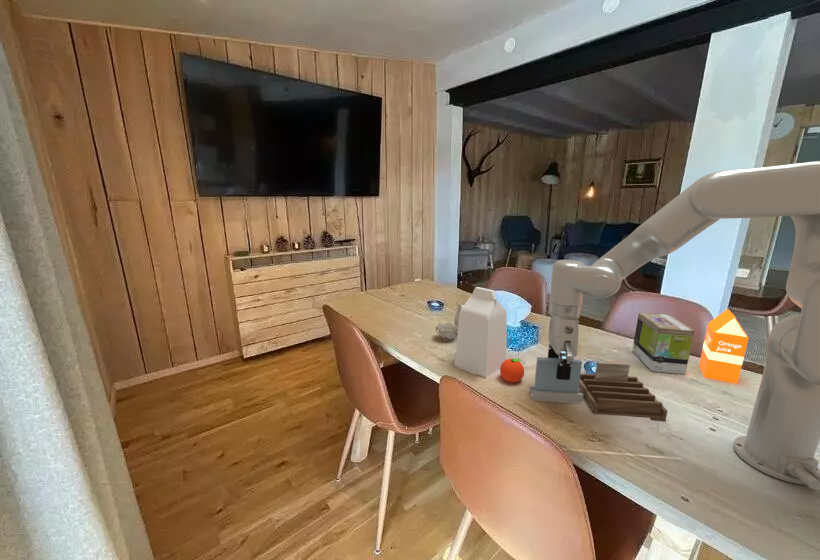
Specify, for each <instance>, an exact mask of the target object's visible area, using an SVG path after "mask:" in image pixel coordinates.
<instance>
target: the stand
mask: <svg viewBox="0 0 820 560" xmlns="http://www.w3.org/2000/svg"><path fill="white" fill-rule="evenodd" d="M534 385H535V384H530V385H529V389H528V392H529V394H530V397H531V400H532V401H539V402H552V403H553V402H555V403H568V404H581V405H584V402H583V400H584V396H583V394H582V393H581V391H580V389H578V393H569V392H554V391H539V390H534Z"/></svg>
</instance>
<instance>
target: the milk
mask: <svg viewBox="0 0 820 560" xmlns="http://www.w3.org/2000/svg"><path fill="white" fill-rule="evenodd" d="M507 316H508V315H507V310H506V309H505V308H504V306H503V305H502V304H501V303H500V302H499V301H498V300H497V297H496V293H495V291H494V289H493V290H492V289H489V288H485V287H481V286H480V287H479V286H476V287H474V289H473V292H472V294H471V295H470V297H469V298H468V300H466V302H465V303H464V305H463V306H462V309H461V311H460V314H459V324H458V331H457V338H456V346H455V347H456V349H455V350H456V351H455V360H454V367H456V368H458V369H461V370H463V369H464V371H465V370H466V371H465V372H468V373H471V374H472V375H475V376H478V375H479V376H481V377H484V378H488V377H489V376H491V375H494V374H495V373H496V372H497V371H500V367H501V364H502V363H503V362H504V361H505V360H507V343H506V342H507V338H508V336H507V335H508V332H507V331H508V330H507V329H508V328H507V324H508V322H507V321H508V320H507V319H508V317H507Z"/></svg>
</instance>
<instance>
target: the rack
mask: <svg viewBox="0 0 820 560" xmlns="http://www.w3.org/2000/svg"><path fill="white" fill-rule="evenodd" d="M630 366H631V365H630V363H629V362H623V361H622V362H621V361H617V362H616V361H605V360H604V361H603V360H602V361H601V360H600V361H599V360H596V366H595V373H581V374H580V382H579V389H580V393H582V394H583V399H584V400H585V401H586V403H587V405H588V406H589V408H590V409H591V411H592V412H593V414H594V415H595V414H596V415H609V416H622V417H634V418H636V417H637V418H649V419H650V420H651V421H662V422H663V421H664V422H665V421H666V420H667V416H668V410H667V409H666V407H664V406H663V403H662V402H661V401H660V400H658V399H657V398H656V395H655V394H652V393H651V391H650V389H649V388H648V387H647V388H646V387H645V386H644V383H643V382H640V381H639V380H638V377H637V376H629V371H630Z"/></svg>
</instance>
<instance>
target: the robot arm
mask: <svg viewBox="0 0 820 560" xmlns="http://www.w3.org/2000/svg"><path fill="white" fill-rule="evenodd" d="M776 217H790V219H791V220H792V222H793V224H794V230H795V236H794V237H795V238H794V247H793V251H792V257H791V262H790V266H789V271H788V276H787V279H786V284H785V291H786V295H787V297H788V298H789V299H790V301H792V303H794V304H795V305H796V306H798V307H799V308H801V311H800V314H794V315H790V316H786V317H784V318H782V319H780V320H779V321H777V323H775V324H774V326H773V327H772V329H771V330H770V333H769V334H768V339H767V345H766V346H767V347H766V356H765V357H766V358H765V364H764V367H763V373H762V377H761V381H760V384H759V388H758V391H757V395H756V399H755V402H754V405H753V406H754V407H753V409H752V410H753V411H752V413H751V416H750V421H749V424H748V427H747V433H746V435H745V436H742V435H741V436H739V437H736V438H735V439H734V441H733V449H734V451H735V452H736V454H737V455H738V457H740V459H742V460H743V461H744V462H745V463H746V464H748V465H750V466H751V467H753V468H754V469H756V470H758V471H760V472H762V473H763V474H766V475H768V476H771V477H773V478H776V479H778V480H781V481H784V482H788V483H791V484H797V485H806V486H807V487H808V488H809V489H810V490H818V489H819V488H820V468H819V467H818V465H819V464H820V463H819V460H817V459H816V458H815V454H816V452H817V448H818V445H819V442H820V160H817V161H816V160H815V161H807V162H806V161H805V162H800V163H799V162H797V163H790V164H781V165H772V166H771V165H770V166H764V167H754V168H741V169H740V168H739V169H727V170H720V171H714V172H712V173H707V174H706V175H704V176H702V177H700V178H698V179H697V180H696V181H694V182H693V183H691V184H690V185H689V186H688V187H687V188H685V189H684V190H683V191H681V192H680V193H679V194H678V195H677V196H675V197H674V198H673V199H671V201H669V202H668V203H666V205H664V206H663V207H662V208H660V209H659V210H658V211H657V212H656V213H654V214H653V215H651V216H650V217H648V218H647V220H645V221H644V222H642V223H641V224H640V225H639V226H638V227H637V228H635V229H634V230H633V231H632V232H631V233H630V234H628V236H626V237H625V238H624V239H622V240H621V241H620V242H618V244H616V245H615V246H614V247H612V248H611V249H610V250H609V251H607V252H606V253H605V254H603V255H602V256H601V257H599V258H598V259H597V260H596V261H595V262H593V264H591V265H586V264H585V263H584V262H583V261H580V260H577V259H576V260H575V259H559V260H556V261H555V262H554V263H553V267H552V275H551V284H550V285H551V286H550V294H549V303H548V304H549V305H548V314H549V315H550V318H549V326H548V336H547V337H548V342H549V343H548V352H547V358H559V364H557V373H556V378H557V379H559V380H569V379H570V373H571V367H572V363H573V362H572V361H573V359H575V358H574V357H576V356H577V355H578V348H579V331H580V329H579V327H580V323H579V322H580V321H579V318H581V316H582V315H581V313H582V304H583V298H584V294H585V295H589V296H592V297H595V298H610V297H612V296H614V295H615V294H617V293H618V292H619V290H620V288H621V287H622V286H621V285H622V281H623V280H625V279H626V278H627V277H629V276H630V275H631V274H632V273H634V272H635V271H637V270H638V269H639V268H641V267H643V266H644V265H646V264H647V263H649V262H651V261H653V260H655V259H658V258H661V257H665V256H667V255H670V254H672V253H674V252H676V251H677V250H679V249H680V248H682V247H683V246H684V245H685V244H687V243H689V242H690V241H691V240H692V239H694V238H695V237H696V236H697V235H699V234H701V233H702V232H703V231H705V230H706V229H707V228H709V227H711V226H712V225H714V224H715V223H717V222H718V221H719V220H720V219H727V220H728V219H755V218H756V219H757V218H759V219H760V218H776ZM563 357H565V358H563ZM562 359H564V360H563V361H562Z"/></svg>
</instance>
